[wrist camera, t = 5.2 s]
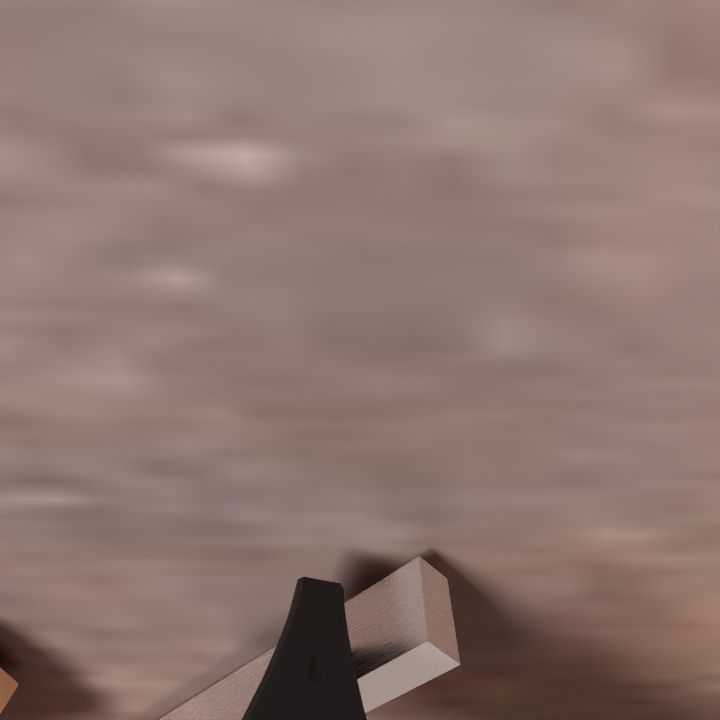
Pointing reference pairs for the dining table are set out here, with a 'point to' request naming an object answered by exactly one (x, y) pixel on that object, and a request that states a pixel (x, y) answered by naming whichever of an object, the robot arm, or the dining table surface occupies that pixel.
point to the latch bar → (365, 645)
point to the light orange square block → (6, 688)
